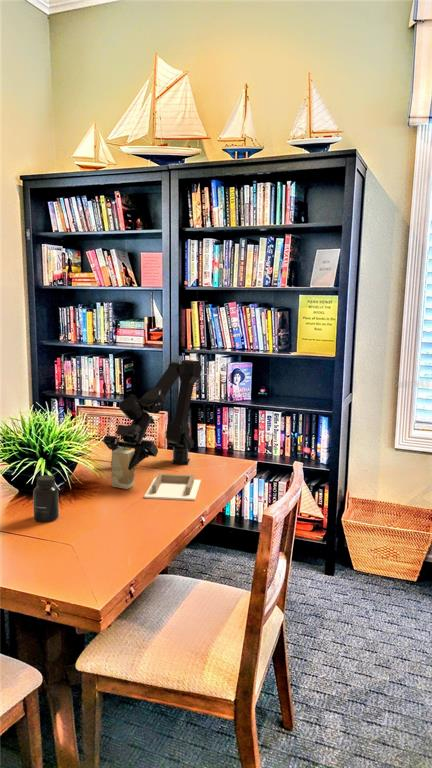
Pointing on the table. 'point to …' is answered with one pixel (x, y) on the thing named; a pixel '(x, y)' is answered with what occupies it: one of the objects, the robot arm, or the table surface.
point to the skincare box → (122, 468)
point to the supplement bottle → (46, 499)
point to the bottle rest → (173, 487)
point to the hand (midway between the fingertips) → (120, 468)
